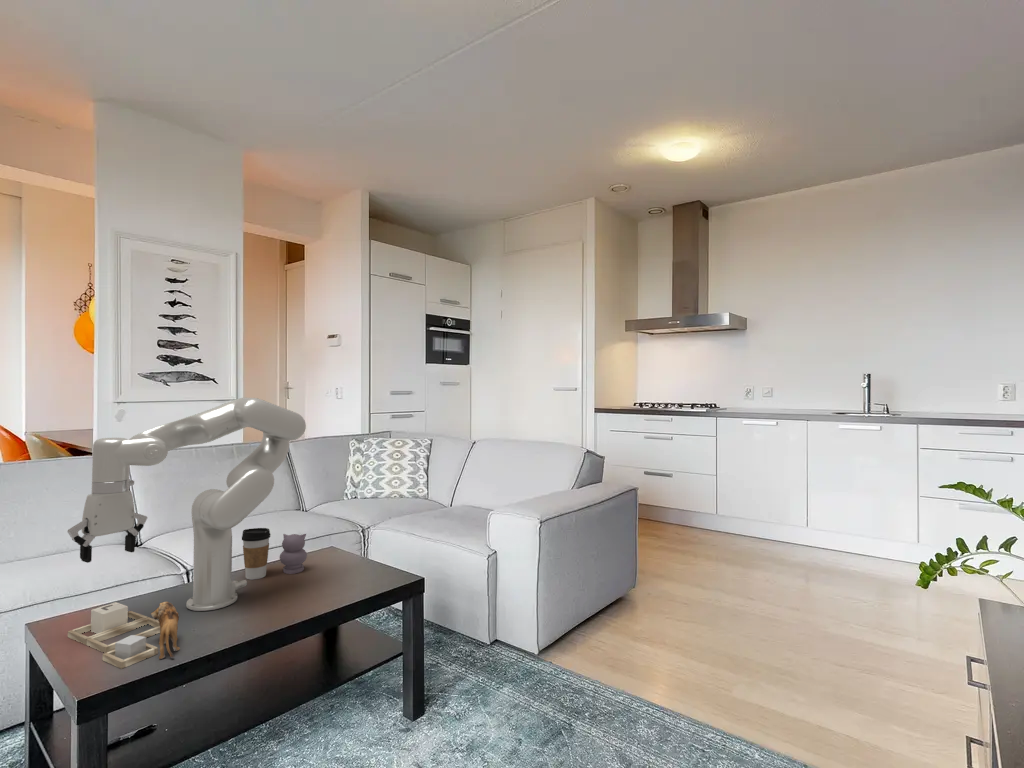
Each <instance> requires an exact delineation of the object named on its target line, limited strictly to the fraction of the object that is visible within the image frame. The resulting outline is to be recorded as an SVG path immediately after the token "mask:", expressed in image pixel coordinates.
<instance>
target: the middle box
mask: <svg viewBox="0 0 1024 768" xmlns="http://www.w3.org/2000/svg"><path fill="white" fill-rule="evenodd" d="M148 617H149V618H146V619H143V620H140V621H137V622H134V623H132V624H129V625H126V626H123V627H120V628H117V629H114V630H112V631H109V632H106V633H103V634H100V635H97V636H95V637H92V638H89V639H87V642H86V645H85V646H87V647H89V646H90V648H92V649H94V650H96V649H97V650H96V651H99V652H101V653H103V652H104V653H107V652H109V651H112V650H115V643H116V642H117V641H115V642H112V643H109V644H105V643H103V641H105V640H109V639H112V638H114V637H118V636H120V635H123V634H125V633H128V632H131V631H134V630H136V628H137V629H139V627H140V628H142V627H145V626H147V624H149V625H148V626H150V625H151V627H152V628H150V629H147V630H145V631H142V632H140V633H137V634H135V635H136V636H143V637H146V639H147V637H148V638H150V637H152V636H156V635H157V634H160V624H159V621H158V619H157V620H154V618H153V617H150V616H148ZM144 625H145V626H144ZM141 626H142V627H141ZM155 634H156V635H155ZM104 653H103V654H104Z"/></svg>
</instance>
